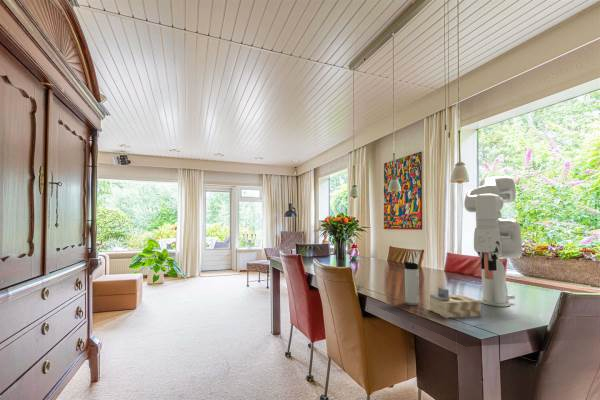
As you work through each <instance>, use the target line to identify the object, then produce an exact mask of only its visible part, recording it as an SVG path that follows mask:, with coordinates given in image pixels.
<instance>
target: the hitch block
mask: <svg viewBox="0 0 600 400" xmlns="http://www.w3.org/2000/svg"><path fill="white" fill-rule="evenodd" d="M449 297H450V300H442V301H438V300H436V299H433V298H431V297H430V296H429V305H430V306H429V308H430V311H432V312H434V313H436V314H437V313H438V315H439V314H440V316H441V315H442V316H441V317H443V318H446V319H448V318H449V317H451V318H466V317H467V318H468V317H471V318H472V317H481V316H482V310H481V302H480V301H479V300H478V299H475V298H472V297H469V296H466V295H464V294H452V295H451V294H450V295H449ZM449 319H450V318H449Z"/></svg>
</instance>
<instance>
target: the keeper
mask: <svg viewBox="0 0 600 400" xmlns="http://www.w3.org/2000/svg"><path fill="white" fill-rule="evenodd" d="M437 290H438V292H437V293H430V294H429V298H430V297H431V298H433V299H436V300H438V301H442V300H450V297H449V289H448V288H445V287H438V288H437Z"/></svg>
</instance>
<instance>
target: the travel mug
mask: <svg viewBox="0 0 600 400" xmlns="http://www.w3.org/2000/svg"><path fill="white" fill-rule="evenodd" d="M403 264H404V293H405V294H404V295H405V297H404V298H405V304H406V305H409V306H418V305H420V287H419V285H420V282H419V280H420V279H419V263H416V262H412V261H403Z"/></svg>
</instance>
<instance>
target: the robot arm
mask: <svg viewBox="0 0 600 400" xmlns="http://www.w3.org/2000/svg"><path fill="white" fill-rule="evenodd" d="M516 195H517V194H516V183H515V181H514V179H513V178H512V177H511V176H507V175H504V176H492V177H491V176H490V177H485V178H483V179H482V180H481V181H480V183H479V186H478V187H476V188H473V189H471V190H469V191H468V192H467V193H466V194H465V198H464V204H463V205H464V208H465V210H466V211H467V212H469V213H475V224H476V226H475V228H474V233H473V250H474V251H475V253H477V254H478V256H479V259H480V264H481V265H480V267H481V284H482V285H481V286H482V287H481V288H482V289H481V290H482V291H481V292H482V297H480V298H479V300H478V301H480V304H483V305H487V306H494V307H502V308H503V307H504V308H505V307H509V306H511V302H510V300H515V299H516V297H515V295H514V294H507V291H506V290H507V287H506V270H505V269H506V268H505V266H504V264H503V262H502V261H501V260H500V259H499V258H501V259H502V258H503V259H504V258H505V259H519V258H521V256H522V255H523V242H522V241H523V240H522V231H521V225H520V223H519V222H518V220H515V219H512V218H511V219H510V218H509V219H508V218H507V219H503V218H502V212H501V210H502V209H503V207H504V204H510V203H513V202H514V201H515V200H516ZM484 252H486V253H488V254H489V260H488V270H489V271H493V275H494V279H485V269H484ZM492 254H493V256H492Z"/></svg>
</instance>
